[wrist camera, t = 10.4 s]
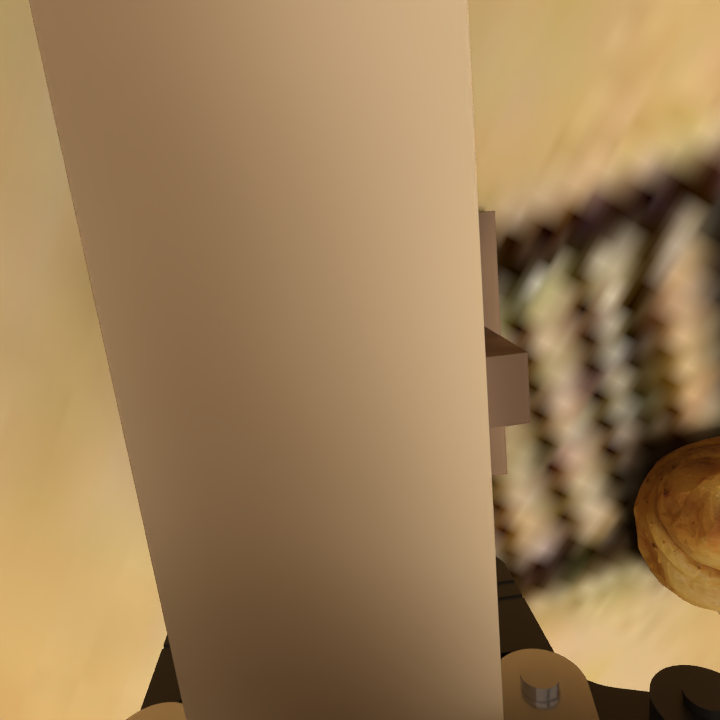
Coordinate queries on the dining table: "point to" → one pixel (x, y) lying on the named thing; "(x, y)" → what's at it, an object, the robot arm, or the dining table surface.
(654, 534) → the bread roll
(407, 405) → the oak bar
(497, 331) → the stand
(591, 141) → the dining table surface
